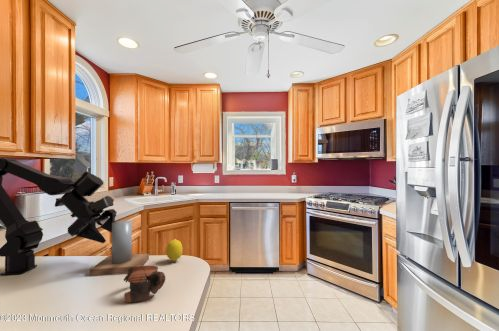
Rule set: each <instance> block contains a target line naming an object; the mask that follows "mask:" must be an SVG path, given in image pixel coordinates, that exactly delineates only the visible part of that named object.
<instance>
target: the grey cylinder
mask: <svg viewBox="0 0 499 331" xmlns="http://www.w3.org/2000/svg"><path fill="white" fill-rule="evenodd" d="M132 224H133V221H132V220H118V221H115V222H113V223H112V233H111V256H112V263H113V264H122V263H126V262H129V261H131V260H132V255H133V249H132V248H133V238H132V237H133V225H132Z"/></svg>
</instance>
